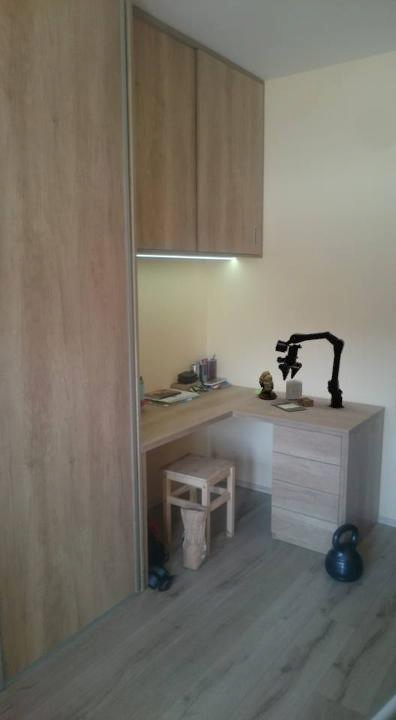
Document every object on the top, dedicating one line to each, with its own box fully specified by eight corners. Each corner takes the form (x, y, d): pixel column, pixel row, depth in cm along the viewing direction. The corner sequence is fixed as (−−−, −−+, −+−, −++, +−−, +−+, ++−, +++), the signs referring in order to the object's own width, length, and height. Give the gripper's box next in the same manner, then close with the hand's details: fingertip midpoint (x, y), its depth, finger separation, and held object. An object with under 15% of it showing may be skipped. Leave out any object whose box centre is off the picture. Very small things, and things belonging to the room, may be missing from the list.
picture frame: (306, 409, 300) (306, 408, 299) (288, 412, 295) (288, 410, 294) (288, 402, 316) (288, 401, 316) (271, 404, 311) (271, 403, 311)
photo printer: (300, 397, 328) (301, 378, 326) (302, 399, 324) (303, 379, 322) (284, 398, 327) (285, 379, 325) (286, 400, 323) (287, 380, 321)
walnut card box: (313, 406, 308) (313, 399, 307) (305, 407, 305) (306, 400, 305) (305, 403, 315) (305, 396, 314) (297, 404, 313) (297, 397, 312)
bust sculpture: (279, 400, 322) (279, 373, 319) (260, 400, 322) (260, 373, 319) (275, 393, 339) (275, 368, 336) (257, 394, 339) (257, 368, 337)
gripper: (288, 350, 323) (284, 374, 326) (272, 352, 308) (268, 377, 312) (304, 354, 316) (299, 379, 320) (289, 356, 302) (284, 382, 305)
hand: (287, 379), depth 314 cm, fingers open, 9 cm apart
